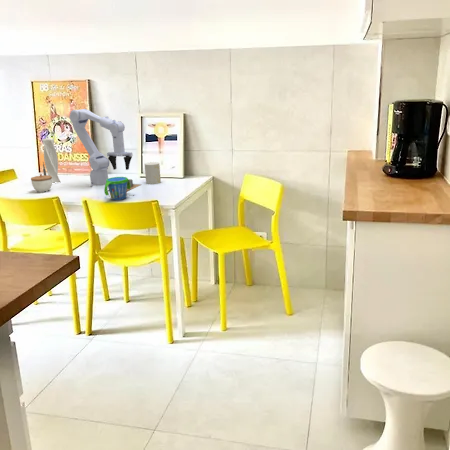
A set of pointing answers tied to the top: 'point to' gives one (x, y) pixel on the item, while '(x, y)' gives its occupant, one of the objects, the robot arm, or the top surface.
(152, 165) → the cup
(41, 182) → the lidded jar
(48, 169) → the skyscraper
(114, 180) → the snack cup
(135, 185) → the gear board
